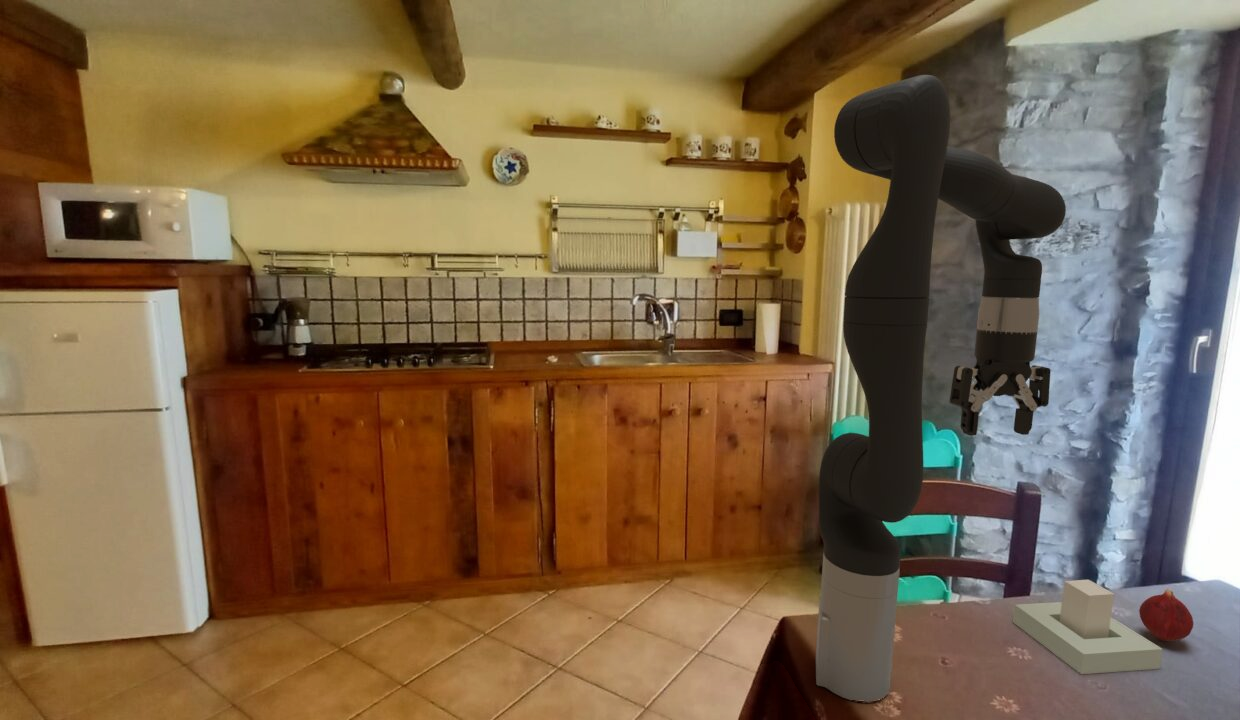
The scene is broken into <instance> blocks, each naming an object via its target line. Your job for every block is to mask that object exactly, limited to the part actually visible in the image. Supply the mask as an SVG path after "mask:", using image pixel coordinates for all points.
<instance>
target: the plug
mask: <svg viewBox="0 0 1240 720" xmlns="http://www.w3.org/2000/svg"><path fill="white" fill-rule="evenodd" d="M1062 591H1063V592H1062V598H1061V602H1062V605H1061V613H1060V620H1059V622H1060V623H1061V624H1063V625H1064V626H1066V627H1067V628H1069V629H1070V630H1071V631H1073V632H1074V633H1076V634H1077V635H1079V636H1080V637H1082V638H1083V639H1096V638H1108V634H1109V627H1110V620H1111V617H1112V613H1113V605H1114V600H1115V599H1114V598H1115V593H1113V592H1111V591H1110V590H1107V589H1106V588H1104V587H1103V586H1101V585H1099V584H1097V583H1095V582H1094V581H1092V580H1091V579H1077V580H1065V581H1064V583H1063V590H1062Z"/></svg>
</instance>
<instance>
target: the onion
mask: <svg viewBox="0 0 1240 720" xmlns="http://www.w3.org/2000/svg"><path fill="white" fill-rule="evenodd" d="M1138 612H1139V617H1140V620H1141V622H1142V624H1143V626H1144V627H1145V628H1146V629H1147V630H1148V631H1149V632H1150V633H1151V634H1152V635H1153V636H1154V637H1156V639H1158V640H1159V641H1161V642H1173V641H1179V640H1182V639H1185V638H1187V637H1188V636H1190V634H1191V632H1192V630H1193V628H1194V619H1193V616H1192V614H1191V612H1190V610H1189V609H1188V608H1187V606H1186V605H1185V604H1184V603H1183V602H1182V601H1181V600H1179V599H1178V598H1176V596H1175V595H1174V592H1173V591H1172V589H1169V588H1167V589H1165V590H1164V592H1163V593H1162V594H1157V595H1152V596H1150V597H1148V598H1147V599H1145V600H1144V601H1143V602H1142V603H1141V605H1140V606H1139V610H1138Z"/></svg>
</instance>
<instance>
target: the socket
mask: <svg viewBox="0 0 1240 720" xmlns="http://www.w3.org/2000/svg"><path fill="white" fill-rule="evenodd" d="M1061 605H1062V601H1057V602H1056V601H1055V602H1042V603H1041V602H1039V603H1020V604H1014V611H1013V620H1012V622H1013V624H1014V625H1016V626H1017V627H1018V628H1020V629H1021V630H1022V631H1023V632H1025V633H1026V634H1028V635H1029V636H1030V637H1031V638H1033V639H1034V640H1035V641H1037V642H1039V644H1041V646H1043V647H1044V648H1046V649H1047V650H1048V651H1050V652H1051V653H1052V654H1054V655H1055V656H1056V657H1058V658H1059V659H1061V661H1063V662H1064V663H1066V664H1067V665H1069V667H1071V668H1072V669H1074V670H1075V671H1076V672H1077V673H1079V674H1080V675H1088V674H1089V675H1091V674H1102V673H1103V674H1104V673H1119V672H1132V671H1133V672H1135V671H1147V670H1148V671H1149V670H1160V668H1161V662H1162V656H1163V650H1164V649H1163V648H1162V647H1160V646H1159V645H1157V644H1155V643H1154V642H1152V641H1150V640H1149V639H1147V638H1146V637H1144V636H1143V635H1141V634H1139V633H1138V632H1136V631H1134V630H1133V629H1131V628H1129V627H1127V626H1126V625H1124V624H1123V623H1121V622H1119V621H1118V620H1116V619H1115V618H1114V617H1112V616H1111V620H1110V627H1109V634H1108V638H1096V639H1083V638H1082V637H1080V636H1079V635H1077V634H1076V633H1074V632H1073V631H1071V630H1070V629H1069V628H1067V627H1066V626H1064V625H1063V624H1061V623H1060V622H1059V620H1060V613H1061Z"/></svg>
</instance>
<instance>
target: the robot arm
mask: <svg viewBox="0 0 1240 720" xmlns="http://www.w3.org/2000/svg"><path fill="white" fill-rule="evenodd" d="M950 105H951V104H950V100H949V95H948V92H947V90H946V87H945V85H944V83H943V82H942V81H941V80H940V79H939V78H938V77H937V76H934V75H931V74H921V75H915V76H912V77H910V78H906V79H903V80H898V81H896V82H893V83H890V84H887V85H884V86H881V87H877V88H874V89H870V90H867V91H865V92H863V93H861V94H858V95H856V96H854V97H852V98H851V99H850V100H848V101H847V102H846V103H844V105H843V106H842V107H841V108H840V109H839V112H838V113H837V117H836V119H835V123H834V129H833V130H834V133H833V138H834V143H835V147H836V150H837V152H838V155H839V156H840V158H841V159H842V160H843V161H844V162H845V164H846V165H848V166H849V167H850V168H852V169H854V170H856V171H859V172H862V173H865V174H868V175H871V176H872V175H873V176H875V177H879V178H882V179H883V178H884V179H887V180H888V181H889V180H890V184H889V189H888V195H887V196H888V197H887V200H886V204H885V207H884V210H883V213H882V215H881V218H880V219H879V222H878V224H877V225H876V227H875V229H874V231H873V232H872V234H871V235H870V237H869V238H868V240H867V242H866V243H865V245H864V247H863V248H862V250H861V251H860V253H859V255H858V256H857V258H856V260H855V262H854V264H853V266H852V267H851V270H850V272H849V274H848V277H847V280H846V283H845V288H844V296H845V297H844V303H843V304H844V305H843V319H842V320H843V323H842V325H843V328H842V329H843V331H842V332H843V338H844V339H843V340H844V343H845V347H846V350H847V354H848V356H849V359H850V362H851V363H852V367H853V369H854V371H855V374H856V375H857V378H858V381H859V383H860V385H861V387H862V390H863V393H864V396H865V401H866V404H867V412H868V435H865V434H862V433H858V432H846V433H842V434H840V435H838V436H837V437H835V438H834V439H833V440H832V441H831V442H830V443H829V444H828V446H827V447H826V449H825V451H824V453H823V456H822V460H821V463H820V467H819V474H818V475H819V478H818V529H819V533H820V535H821V536H820V537H821V539H822V542H823V554H822V569H821V570H822V571H821V584H820V586H821V587H820V596H819V602H818V617H817V618H818V619H817V630H816V634H817V635H816V649H815V679H816V680H815V682H816V683H815V684H816V685H817V686H818V687H822V688H826V689H827V690H829V691H831V692H832V693H833V694H835V695H837V696H839V697H841V698H843V699H847V700H850V701H852V700H864V701H874V700H878V699H881V698H883V697H885V696H886V695H887V694H889V693H890V689H891V681H892V667H893V666H892V665H893V654H894V642H895V639H894V638H895V629H896V619H897V618H896V615H897V604H898V593H899V583H900V582H899V580H900V568H901V559H902V557H901V556H902V552H901V546H900V543H899V541H898V540H897V538H896V537H895V536H894V534H893V533H892V532H891V531H890V530H889V529H888V527H887V526H886V525H885V524H884V522H885V523H889V524H891V523H893V524H894V523H899V522H901V521H903V520H904V519H906V518H908V516H909V515H910V514H911V513H913V510H914V509H915V508H916V506H917V504H918V502H919V499H920V495H921V493H922V488H923V483H924V482H923V481H924V440H923V437H924V436H923V415H922V414H923V409H922V408H923V405H922V404H923V403H922V402H923V401H922V400H923V382H924V379H923V376H924V375H923V374H924V360H925V359H924V357H925V347H926V344H925V343H926V336H927V328H928V318H929V308H930V307H929V305H930V298H929V297H930V289H931V267H932V266H931V265H932V264H931V263H932V254H933V252H932V251H933V243H934V242H933V241H934V231H935V222H936V217H937V216H936V215H937V209H938V202H939V200H940V201H942V202H944V203H945V204H947V205H949V206H951V207H952V208H954V209H955V210H957V211H959V212H961V213H963V214H964V215H965V216H967V217H969V218H970V219H973V220H975V229H976V233H977V238H978V240H979V246H980V252H981V256H982V257H981V258H982V264H983V268H984V273H983V274H984V275H983V283H982V291H981V300H980V305H979V308H978V315H977V325H976V334H975V335H976V336H975V344H974V345H975V346H974V353H973V354H974V358H975V359H976V360H975V361H976V362H975V365H974V367H966V366H962V365H956V366H955V367H954V369H953V377H952V382H951V383H952V384H951V390H950V395H949V403H950V404H951V405H954V406H957V407H959V408H960V409H961V417H960V418H961V419H960V430H962V432H963V434H965V435H968V436H977V435H978V425H979V416H980V412H979V411H978V410H980V408H981V407H982V406H983V405H984V403H986V402H988V401H990V400H991V398H992V397H1001V396H1009V397H1011V398H1012V399H1013V400H1014V402H1015V404H1016V406H1017V407H1018V408H1017V407H1016V408H1015V413H1014V414H1015V415H1014V423H1013V431H1014V433H1017V434H1019V435H1022V436H1024V435H1025V436H1026V435H1027V436H1028V435H1029V434H1030V431H1031V430H1032V428H1033V421H1034V420H1033V419H1034V412H1035V411H1037V409H1039V408H1040V407H1044V408H1045V407H1047V406H1048V405H1049V402H1050V387H1051V384H1050V383H1051V368H1049V367H1046V366H1043V365H1036V364H1035V365H1034V364H1033V365H1031V362H1033V361H1034V360H1035V355H1036V347H1037V338H1038V329H1039V322H1040V292H1041V283H1042V276H1043V275H1042V274H1043V263H1042V261H1041V260H1040V259H1038V258H1037V257H1035V256H1034V257H1033V256H1029V255H1024V254H1018V253H1015V252H1014V251H1013V248H1012V246H1011V243H1010V241H1011V240H1030V239H1031V240H1032V239H1040V238H1045V237H1048V236H1050V235H1052V234H1053V233H1055V232H1056V231H1057V230H1058V229H1059V228H1060V227H1061V225H1062V224H1063V222H1064V221H1065V217H1066V211H1067V210H1066V209H1067V208H1066V203H1065V202H1066V201H1065V200H1064V198H1063V196H1062V194H1061V193H1060V192H1059V191H1058V190H1057V189H1056V188H1055V187H1054V186H1052V185H1050V184H1047V183H1046V182H1043V181H1039V180H1036V179H1033V178H1029V177H1027V176H1021V175H1016V174H1014V173H1013V174H1012V173H1011V172H1010V171H1009V170H1007V169H1006V168H1005V167H1004V166H1001V165H1000V164H999V163H997V161H995V160H993V159H992V158H990V157H988V156H987V155H983V154H981V153H978V152H975V151H973V150H967V149H965V148H964V149H963V148H961V147H960V148H959V147H954V146H951V145H948V144H949V137H950V128H951V107H950ZM1028 380H1029V381H1028ZM973 381H974V382H973ZM1027 381H1028V382H1029V383H1028V384H1027ZM972 382H973V383H972ZM888 692H889V693H888ZM887 696H888V695H887ZM887 696H886V697H887ZM886 697H885V698H886ZM883 699H884V698H883ZM881 700H882V699H881Z"/></svg>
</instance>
